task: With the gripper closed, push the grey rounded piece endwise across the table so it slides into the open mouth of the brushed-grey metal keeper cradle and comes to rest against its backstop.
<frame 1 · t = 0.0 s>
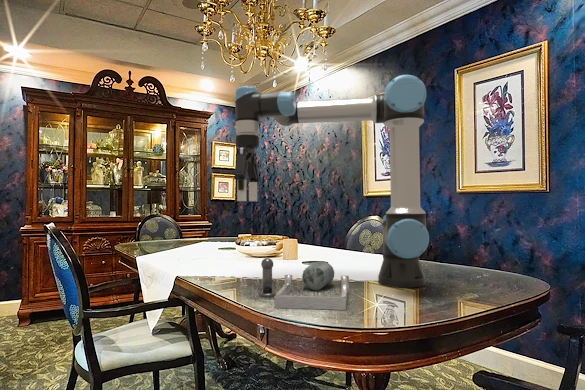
hand: (247, 201, 128), 28 cm above the table, fingers open, 13 cm apart
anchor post: (267, 295, 117), on the table
grey rounded piece: (318, 288, 128), on the table
keeper cradle: (313, 299, 111), on the table
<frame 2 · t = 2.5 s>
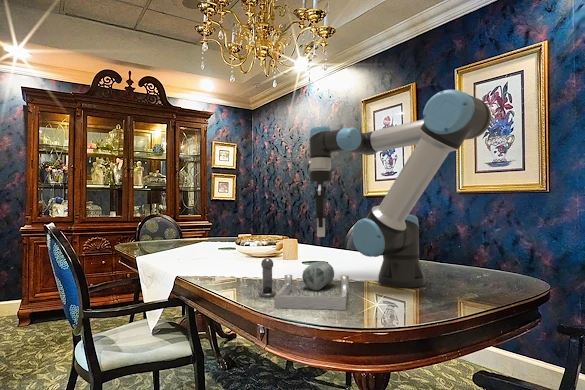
hand: (321, 236, 141), 15 cm above the table, fingers closed
nothing on the table moved.
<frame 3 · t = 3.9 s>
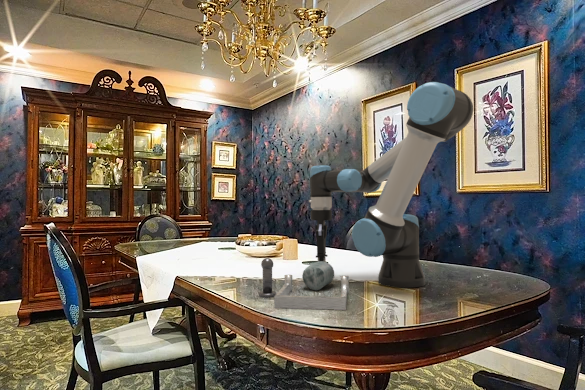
hand: (321, 275, 141), 1 cm above the table, fingers closed
nothing on the table moved.
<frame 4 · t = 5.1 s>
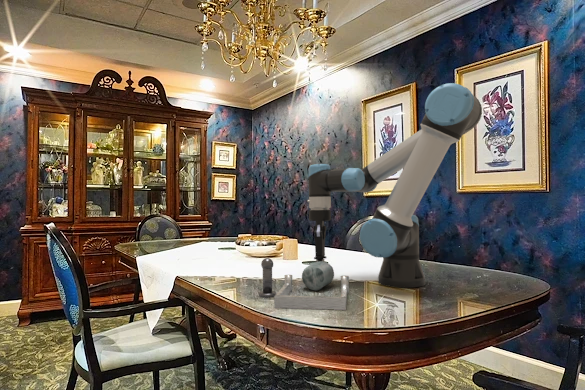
hand: (320, 277, 136), 1 cm above the table, fingers closed
grey rounded piece: (318, 288, 127), on the table, touching gripper
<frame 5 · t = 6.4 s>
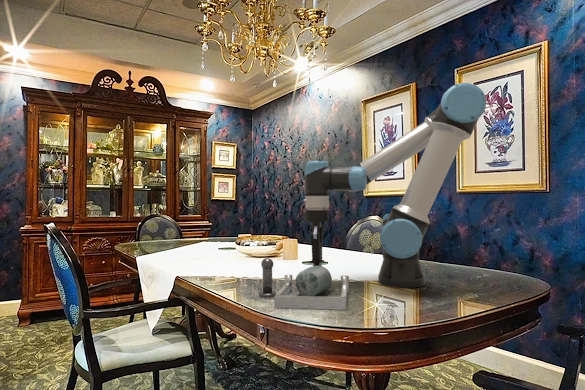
hand: (317, 283, 127), 2 cm above the table, fingers closed
grey rounded piece: (314, 294, 118), on the table, touching gripper
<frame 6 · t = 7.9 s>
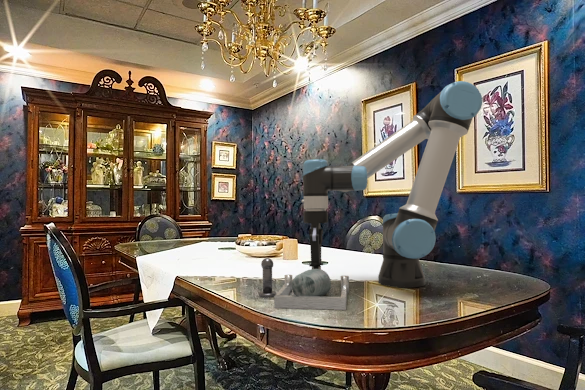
hand: (316, 287, 121), 1 cm above the table, fingers closed
grey rounded piece: (311, 299, 112), on the table, touching gripper
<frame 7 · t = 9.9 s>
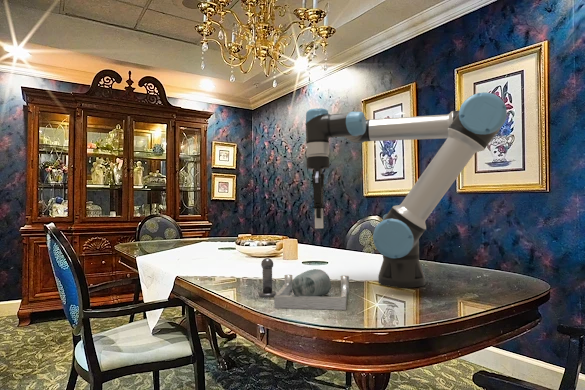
hand: (319, 228, 130), 19 cm above the table, fingers closed
grey rounded piece: (311, 299, 112), on the table
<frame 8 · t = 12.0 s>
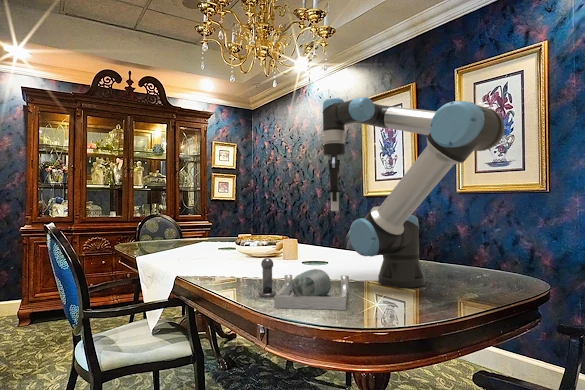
hand: (334, 210, 138), 24 cm above the table, fingers closed
nothing on the table moved.
at the end: grey rounded piece inside the target area on the keeper cradle (1.9 cm from its centre), point 0.0 cm above the keeper cradle's base; the gripper is holding nothing; grey rounded piece moved 15.7 cm from its start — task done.
